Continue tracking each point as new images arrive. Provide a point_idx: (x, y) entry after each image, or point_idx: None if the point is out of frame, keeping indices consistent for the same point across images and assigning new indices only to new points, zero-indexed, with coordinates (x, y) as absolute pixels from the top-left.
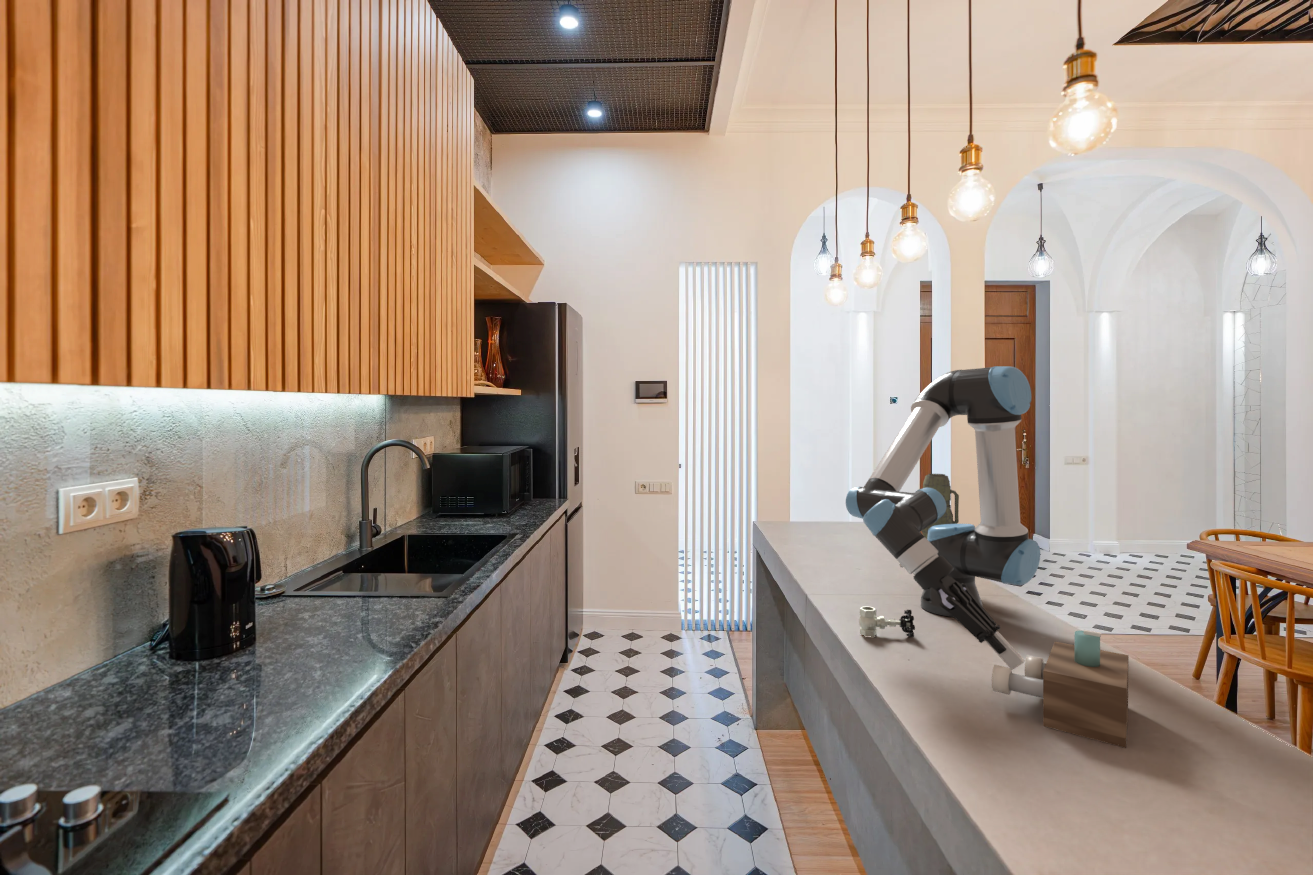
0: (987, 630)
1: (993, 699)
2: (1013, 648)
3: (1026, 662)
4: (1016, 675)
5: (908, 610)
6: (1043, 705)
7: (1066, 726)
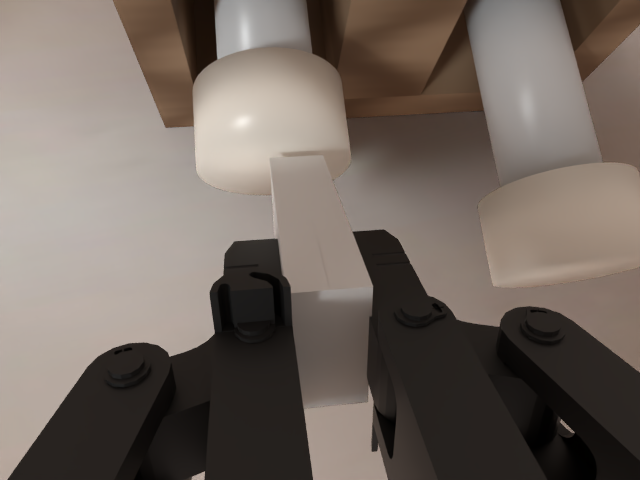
0: (561, 325)
1: (463, 313)
2: (282, 197)
3: (333, 133)
4: (582, 139)
5: None
6: (606, 56)
7: None
